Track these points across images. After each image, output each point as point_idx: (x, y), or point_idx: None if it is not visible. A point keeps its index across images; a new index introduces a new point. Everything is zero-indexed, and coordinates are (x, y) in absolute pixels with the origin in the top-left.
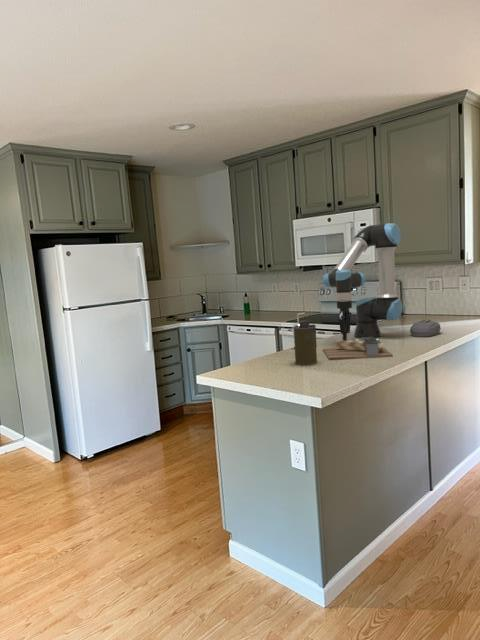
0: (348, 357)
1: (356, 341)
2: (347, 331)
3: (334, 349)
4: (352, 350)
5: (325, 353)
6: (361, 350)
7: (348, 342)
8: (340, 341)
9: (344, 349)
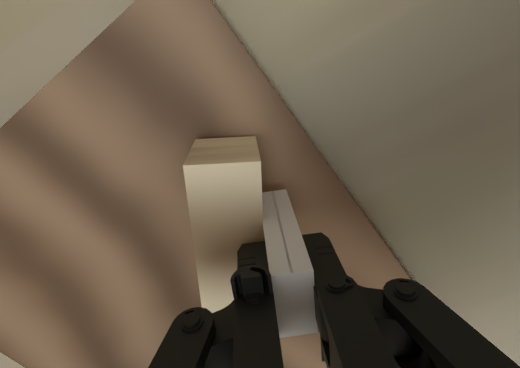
0: (4, 349)
1: None
2: (321, 347)
3: (200, 120)
4: None
5: (9, 122)
6: None
7: (203, 307)
8: (192, 229)
9: None
